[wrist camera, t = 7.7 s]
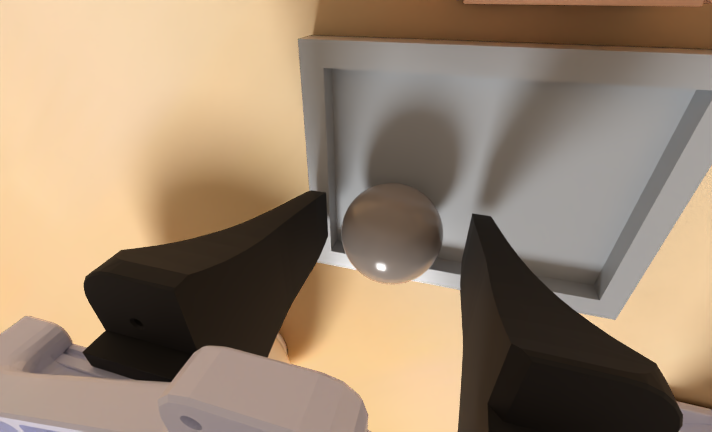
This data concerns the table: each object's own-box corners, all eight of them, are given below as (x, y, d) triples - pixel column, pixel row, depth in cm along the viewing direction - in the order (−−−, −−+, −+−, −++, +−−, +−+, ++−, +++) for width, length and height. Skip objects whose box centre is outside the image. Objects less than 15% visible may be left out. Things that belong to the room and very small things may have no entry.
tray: (744, 50, 9) (778, 57, 8) (605, 297, 14) (615, 319, 13) (312, 35, 12) (297, 38, 11) (324, 246, 16) (314, 261, 15)
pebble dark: (453, 172, 12) (447, 227, 9) (439, 250, 14) (431, 316, 11) (356, 161, 13) (324, 207, 10) (356, 236, 15) (329, 294, 12)
